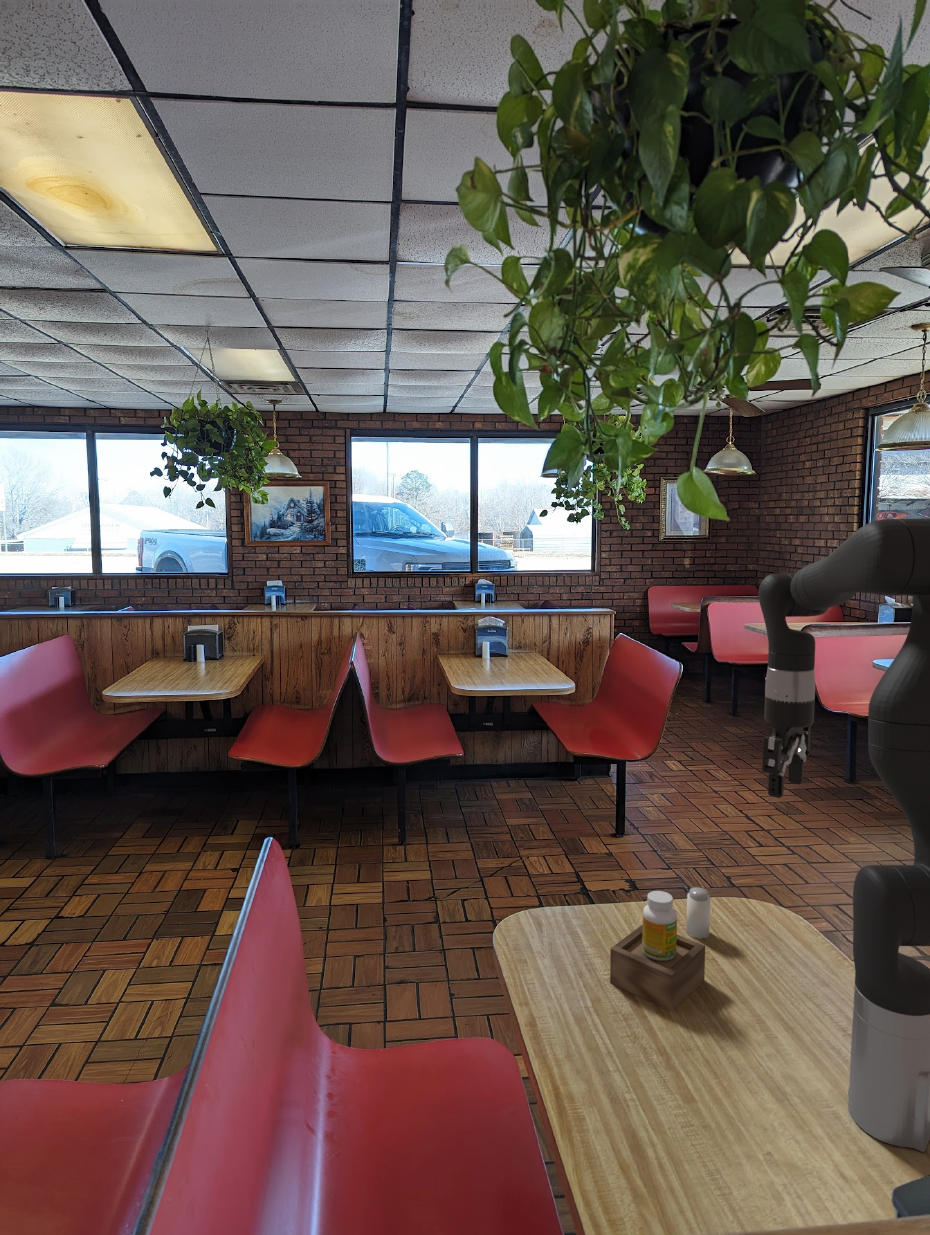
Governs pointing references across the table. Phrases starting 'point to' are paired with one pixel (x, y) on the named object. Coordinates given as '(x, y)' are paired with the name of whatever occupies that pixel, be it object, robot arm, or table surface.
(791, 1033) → the table surface
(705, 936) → the sugar shaker
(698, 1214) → the table surface
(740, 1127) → the table surface
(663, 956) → the supplement bottle
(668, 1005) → the walnut tray
